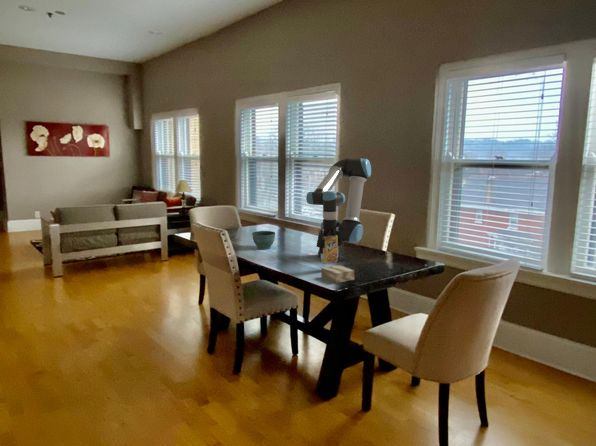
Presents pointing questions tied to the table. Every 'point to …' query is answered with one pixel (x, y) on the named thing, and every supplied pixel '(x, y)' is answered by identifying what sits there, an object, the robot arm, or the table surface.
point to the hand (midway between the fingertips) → (329, 257)
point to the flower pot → (263, 239)
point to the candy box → (330, 249)
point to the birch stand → (337, 273)
